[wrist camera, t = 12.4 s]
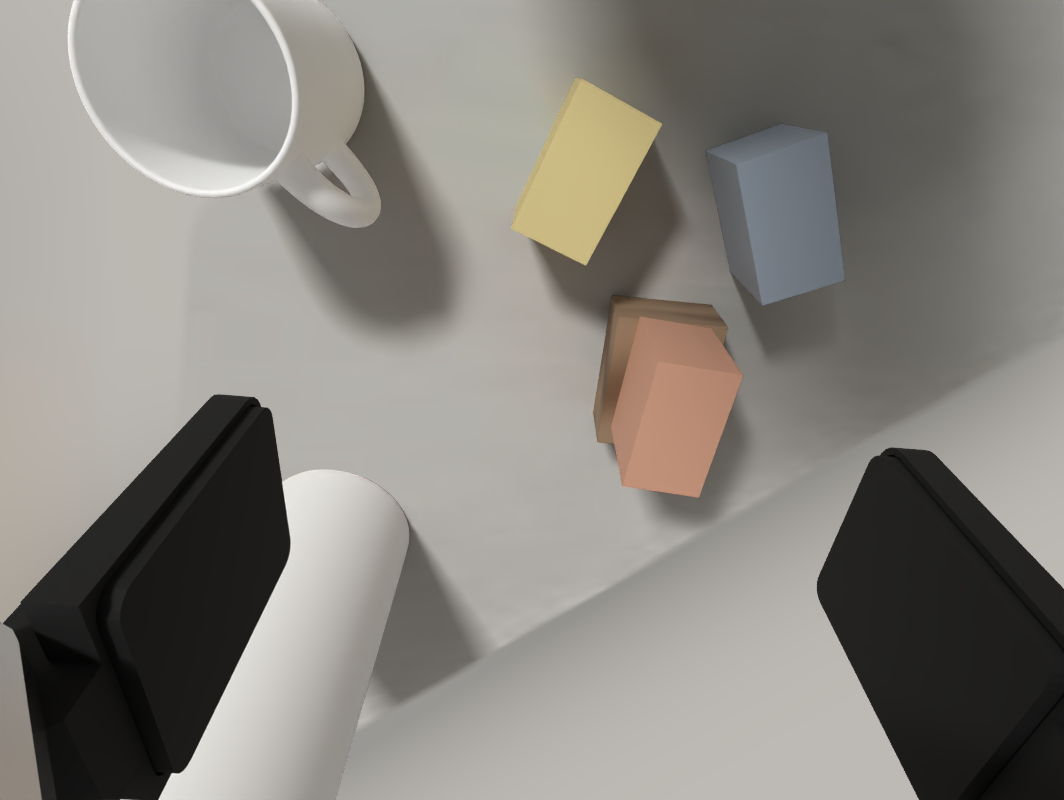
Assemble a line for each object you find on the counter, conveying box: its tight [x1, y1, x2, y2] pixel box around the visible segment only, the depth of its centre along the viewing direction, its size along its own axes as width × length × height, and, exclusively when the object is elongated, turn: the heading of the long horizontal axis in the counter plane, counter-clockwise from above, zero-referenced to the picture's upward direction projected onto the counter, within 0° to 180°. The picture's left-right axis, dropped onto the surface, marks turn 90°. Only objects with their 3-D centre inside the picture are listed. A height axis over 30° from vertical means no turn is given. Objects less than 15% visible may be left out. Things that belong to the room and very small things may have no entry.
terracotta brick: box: [611, 316, 743, 498], centre depth 32 cm, size 7×4×6 cm, turn 170°
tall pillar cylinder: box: [120, 469, 409, 800], centre depth 34 cm, size 11×11×25 cm
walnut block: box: [593, 295, 728, 444], centre depth 37 cm, size 8×6×4 cm
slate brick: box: [706, 124, 845, 306], centre depth 31 cm, size 7×4×6 cm, turn 19°
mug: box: [68, 0, 381, 228], centre depth 28 cm, size 12×8×10 cm
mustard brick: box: [511, 78, 662, 266], centre depth 31 cm, size 7×4×6 cm, turn 154°
